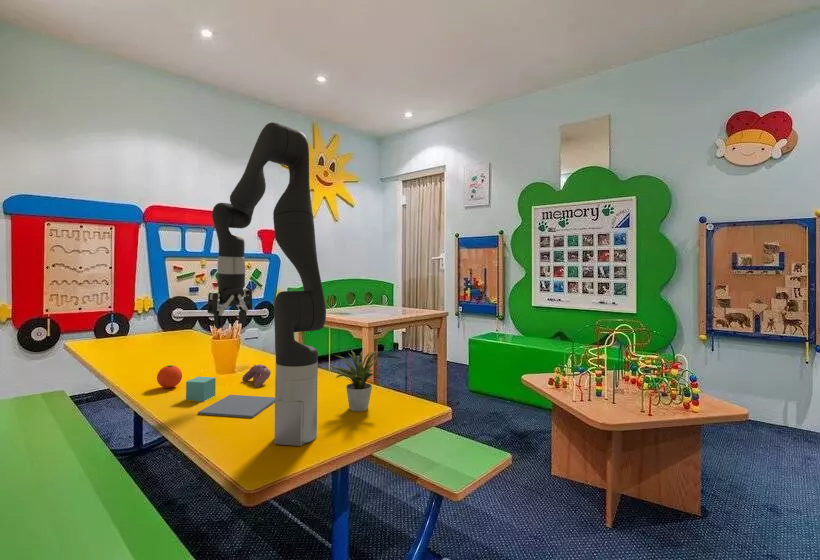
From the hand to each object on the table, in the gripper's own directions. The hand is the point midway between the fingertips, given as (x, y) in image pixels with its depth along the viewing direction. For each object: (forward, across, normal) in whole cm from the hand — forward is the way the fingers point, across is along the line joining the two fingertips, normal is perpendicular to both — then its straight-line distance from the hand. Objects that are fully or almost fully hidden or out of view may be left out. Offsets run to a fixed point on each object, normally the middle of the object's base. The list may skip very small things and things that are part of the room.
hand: (230, 325), depth 125 cm
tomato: (+22, -5, +21) cm, 30 cm away
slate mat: (+20, -8, -13) cm, 25 cm away
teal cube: (+21, -8, +3) cm, 22 cm away
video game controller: (+22, +12, +1) cm, 25 cm away
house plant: (+19, +8, -41) cm, 46 cm away
